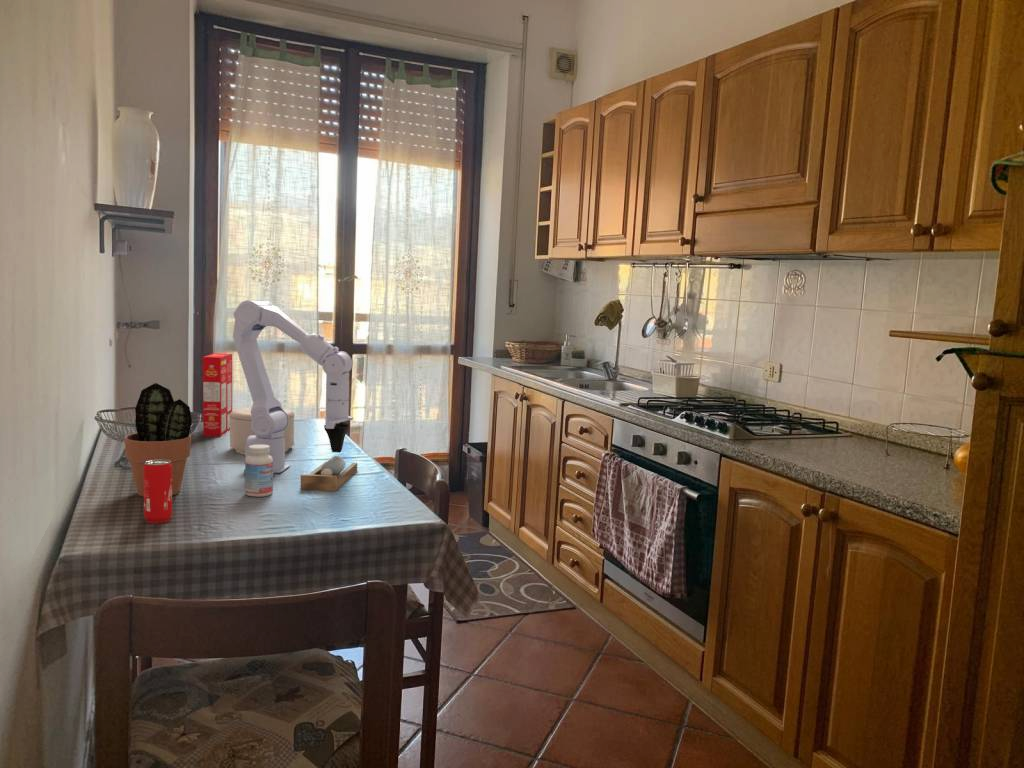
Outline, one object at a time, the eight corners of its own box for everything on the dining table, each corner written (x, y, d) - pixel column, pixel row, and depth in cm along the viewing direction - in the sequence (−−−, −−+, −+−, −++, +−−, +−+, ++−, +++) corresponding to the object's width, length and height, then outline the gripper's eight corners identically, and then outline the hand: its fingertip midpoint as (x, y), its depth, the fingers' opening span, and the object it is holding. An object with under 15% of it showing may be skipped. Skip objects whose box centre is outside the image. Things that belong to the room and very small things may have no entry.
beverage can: (149, 516, 158) (149, 458, 156) (176, 516, 158) (175, 459, 157) (139, 523, 152) (139, 464, 151) (166, 524, 153) (166, 464, 151)
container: (302, 453, 224) (303, 413, 222) (239, 458, 213) (239, 416, 212) (283, 441, 238) (283, 404, 237) (222, 446, 228) (222, 407, 227)
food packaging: (216, 428, 257) (215, 353, 254) (232, 428, 257) (232, 353, 254) (203, 436, 242) (202, 356, 239) (220, 436, 243) (220, 357, 240)
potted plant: (126, 503, 166) (124, 388, 163) (124, 487, 178) (123, 380, 175) (194, 497, 173) (193, 386, 170) (188, 483, 185) (187, 379, 182)
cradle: (300, 489, 183) (300, 475, 183) (325, 469, 204) (325, 456, 204) (335, 491, 183) (335, 476, 182) (357, 471, 204) (357, 458, 203)
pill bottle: (264, 498, 174) (264, 449, 173) (239, 496, 175) (239, 447, 174) (277, 492, 180) (278, 444, 179) (253, 489, 181) (254, 442, 180)
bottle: (327, 471, 199) (316, 482, 188) (328, 455, 198) (317, 465, 188) (344, 473, 199) (334, 484, 188) (345, 456, 198) (335, 466, 188)
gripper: (345, 404, 189) (344, 458, 191) (359, 396, 204) (358, 447, 205) (317, 402, 190) (316, 457, 191) (333, 395, 204) (332, 445, 206)
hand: (336, 451), depth 198 cm, fingers closed
